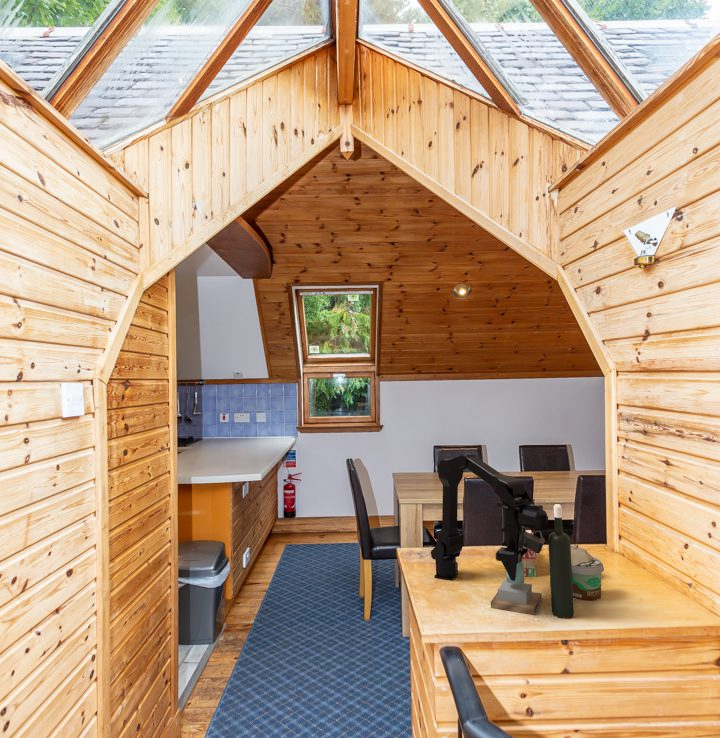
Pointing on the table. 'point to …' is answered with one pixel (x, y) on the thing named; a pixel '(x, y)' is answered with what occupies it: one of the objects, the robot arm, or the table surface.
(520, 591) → the grey square block
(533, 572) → the stack of blocks
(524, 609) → the tower base slab
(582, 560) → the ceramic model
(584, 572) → the food container
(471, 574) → the table surface
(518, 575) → the teal round block
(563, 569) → the wine bottle
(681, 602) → the table surface
